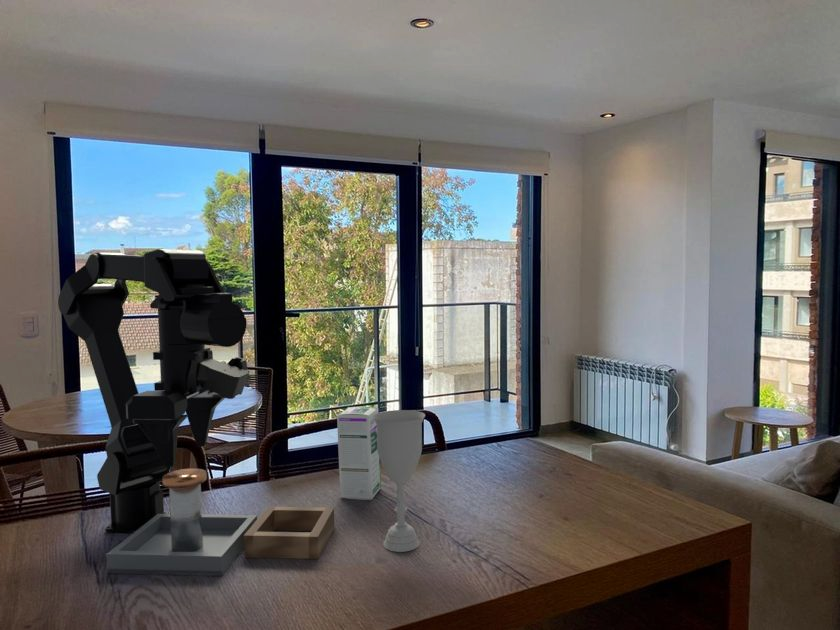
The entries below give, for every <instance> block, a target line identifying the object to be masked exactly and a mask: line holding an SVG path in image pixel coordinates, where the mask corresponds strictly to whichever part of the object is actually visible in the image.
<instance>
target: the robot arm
mask: <svg viewBox="0 0 840 630" xmlns="http://www.w3.org/2000/svg"><path fill="white" fill-rule="evenodd" d="M108 279H109V280H116V281H115V282H114V284H113V285H112V284H110V283H100V284H99V283H98V281H99V280H108ZM127 281H130V282H140V283H143V286H144V287H145V288H147V289H149V290H151V291H153V292H156V293H158V296H157V297H155V298H154V299H153V300H152V301H151V303H150V304H149V306H150V308H151V309H153V310H157V319H158V320H157V321H158V323H157V324H158V325H157V326H158V344H159V345H158V347H159V350H156V351H153V352H152V359H153V361H155V360H156V361H159V366H160V367H159V368H160V369H159V371H160V372H159V373H160V380H158V381H155V382H154V383H153V384H154V385H153V387H154V390H145V391H142V392H140V393H139V390H138V386H137V384H136V381H135V378H134V374H133V372H132V368H131V366H130V363H129V359H128V356H127V353H126V351H125V347H124V344H123V342H122V338H121V335H120V331H119V329H120V326H121V323H122V321H123V317H124V315H125V312H124V304H125V303H126V300H127V299H128V297H129V294H130V292H129V289H128V286H127ZM97 283H98V284H97ZM223 287H224V286H223V285H222V284H221V282H220V281H219V279H218V277H217V275H216V272H215V271H214V269H213V267H212V265H211V263H210V261H209V260H208V259H207V258H206V254H205V252H203V251H202V250H199V249H198V250H197V249H170V248H169V249H165V248H162V249H161V248H158V249H154V250H151V251H147V252H145V253H144V254H143V255H134V254H124V253H122V252H104V251H103V252H98V251H97V252H95V253H92V254H90V255H89V256H88V258H87V260H86V261H85V264H84V265H83V266H82V267H81V268H79V269H78V270H76V271H75V272H73V273H72V274H71V275H70V276H68V277H67V278H66V279H65V282H64V283H63V287H62V288H61V291H60V293H59V295H58V299H57V305H58V309H59V312H60V313H61V315H63V317H64V321H65V323H66V326H67V328H68V329H69V330H70V331H71V332H72V333H74V334H75V335H76V336H77V337H79V338H80V339H81V340H82V341H84V343H85V346H86V349H87V352H88V356H89V359H90V361H91V366H92V369H93V372H94V375H95V377H96V381H97V384H98V387H99V390H100V394H101V397H102V401H103V404H104V408H105V410H106V412H107V413H106V414H107V417H108V420H109V423H110V426H111V428H110V432H109V435H108V438H107V441H106V444H105V454H106V459H105V461H104V462H103V464H102V466H101V468H100V469H99V471H98V473H97V475H96V478H97V479H96V480H97V484H98V487H99V490H101V491H103V492H105V493H109V507H110V523H109V524H108V525H107V526H106V527H104V532H106V533H107V532H112V533H113V532H114V533H116V532H117V533H118V532H119V533H134V532H135V531H137V530H138V529H139V528H140V527H142V526H143V525H144V524H145V523H147V522H148V521H149V520H151V519H152V518H153V517H154V516H156V515H157V514H167V512H166V511H165V509H164V506H165V505H164V503H165V502H164V491H162V490H161V485H160V484H161V482H162V477H163V476H164V475H165V474H167V473H169V472H171V468H172V467H174V466H175V465H176V464H175V463H176V456H177V449H178V448H177V447H178V433H179V428H180V427H179V426H180V425H181V424H182V423H183V422H184V421H185V420H186V419H187V420H188V423H189V427H190V430H191V432H192V437H193V438H194V441H195V444H196V446H197V447H205V446H206V445H207V441H208V436H209V433H210V428H211V425H212V421H213V418H214V415H215V414H214V413H215V410H216V408H217V406H218V405H220V404H221V403H222V402H223V401H224V400H225V399H227V400H228V399H229V400H232V399H234V398H236V396H238V395H242V394H243V392H244V388H245V386H246V382H248V381H250V379H251V376H250V370H249V369H248V364H247V359H244V358H242V357H240V356H235V357H232V358H231V359H230V360H229V361H228V362H227V361H225V360H222V361H219V360H216V359H214V355H213V350H212V349H211V347H206V346H214V347H223V348H230V347H233V346H235V345H237V344H238V343H240V341H241V340H242V339H243V338H244V336H245V334H246V330H247V324H248V323H247V322H248V321H247V317H245V313H244V312H243V309H241V307H240V306H239V305H238V304H236V303H235V302H233V294H232V293H231V292H225V290H224V289H223Z"/></svg>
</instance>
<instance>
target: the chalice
mask: <svg viewBox="0 0 840 630" xmlns="http://www.w3.org/2000/svg"><path fill="white" fill-rule="evenodd" d="M425 417H426V413H424V412H421V411H418V410H412V409H411V410H410V409H409V410H408V409H401V410H400V409H399V410H398V409H397V410H396V409H395V410H394V409H393V410H386V411H382V412H378V413H377V414H375V415H374V416H373V419H374V421H375V422H376V424H377V452H378V455H379V458H380V464H381V466H382V468H383V469H384V471H385V473H386V475H387V477H388V479H389V481H390V482H392V483H395V484H396V494H395V495H394V499H396V502H397V503H396V507H394V512H396V515H397V520H396V522H395V523H394V524H393V525H391V526H390V527H389V529H388V530H387V534H386V535H385V539H384V541H383V543H382V545H383V548H384V549H386V550H388V551H391V552H398V553H402V552H409V551H413V550H416V549H417V548H418V547H419V546H420V540H419V538H418V537H417V536H418V535H417V534H416V531H415V528H414V527H413V526H412V525H410V524H408V522H406V519H405V513H406V512H407V511H408V508H407V507H406V505H405V500H406V498H407V494H406V491H405V483H407V482H409V481H411V479H412V477H413V475H414V473H415V470H416V469H417V467H418V464H419V461H420V458H421V454H422V451H423V436H422V435H423V431H422V429H423V428H422V425H423V424H422V423H423V421H424V419H425Z"/></svg>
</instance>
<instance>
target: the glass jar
mask: <svg viewBox="0 0 840 630" xmlns="http://www.w3.org/2000/svg"><path fill="white" fill-rule="evenodd" d="M207 476H208V475H207V471H206V470H205V469H202V468H194V467H193V468H181V469H178V470H177V469H176V470H173V471H170V472H169V473H167V474H165V475H164V476H163V477H162V480H161V484H162V486H163V487H165V488H168V491H169V493H168V495H169V496H168V497H169V514H170V522H171V545H172V551H173V552H193V551H196V550H198V549H200V548H201V547H202V546H203V531H202V514H203V512H202V511H203V510H202V486H201V485H202V484H203V483H204V482H206V481H207Z"/></svg>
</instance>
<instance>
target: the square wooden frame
mask: <svg viewBox="0 0 840 630" xmlns="http://www.w3.org/2000/svg"><path fill="white" fill-rule="evenodd" d="M335 528H336V527H335V507H330V506H329V507H328V506H327V507H325V506H324V507H320V506H319V507H318V506H317V507H316V506H312V507H311V506H267V507H266V508H265V510H264V511H263V512H262V513H261V515H260V516H259V517H257V520H256V522H255V523H254V524H253V525H252V526H251V527H250V529H249V530H248V531H247V532H246V533H245V535H244V549H243V553H244V558H251V559H252V558H258V559H261V558H262V559H263V558H265V559H306V560H309V559H310V560H316V559H317V560H319V558H320V557H321V555H322V552H323V551H324V549H325V547H326V545H327V543H328V541H329V540H330V537H331V535H332V533H333V531H334V529H335ZM295 531H296V532H295ZM297 531H299V532H297ZM300 531H301V532H300ZM302 531H304V532H302ZM305 531H308V532H305ZM309 531H311V532H309Z"/></svg>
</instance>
